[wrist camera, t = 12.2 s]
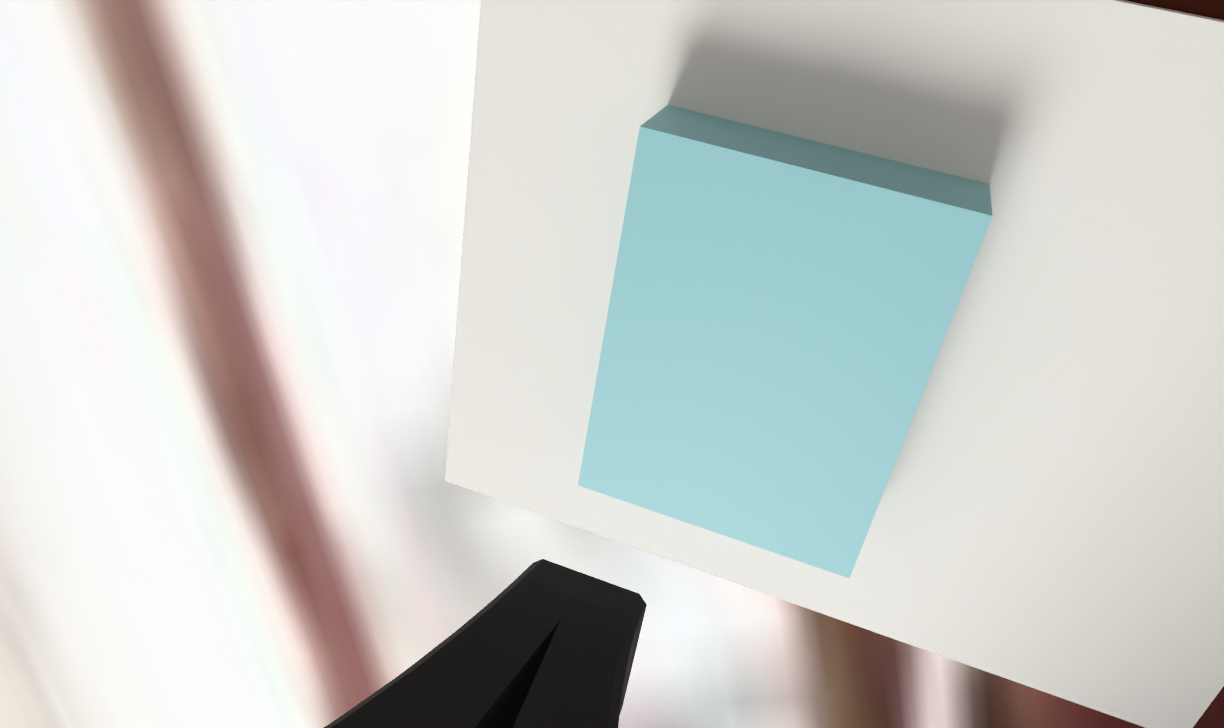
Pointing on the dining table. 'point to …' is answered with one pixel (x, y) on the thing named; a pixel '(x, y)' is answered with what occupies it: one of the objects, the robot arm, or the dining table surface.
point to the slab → (773, 330)
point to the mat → (976, 338)
